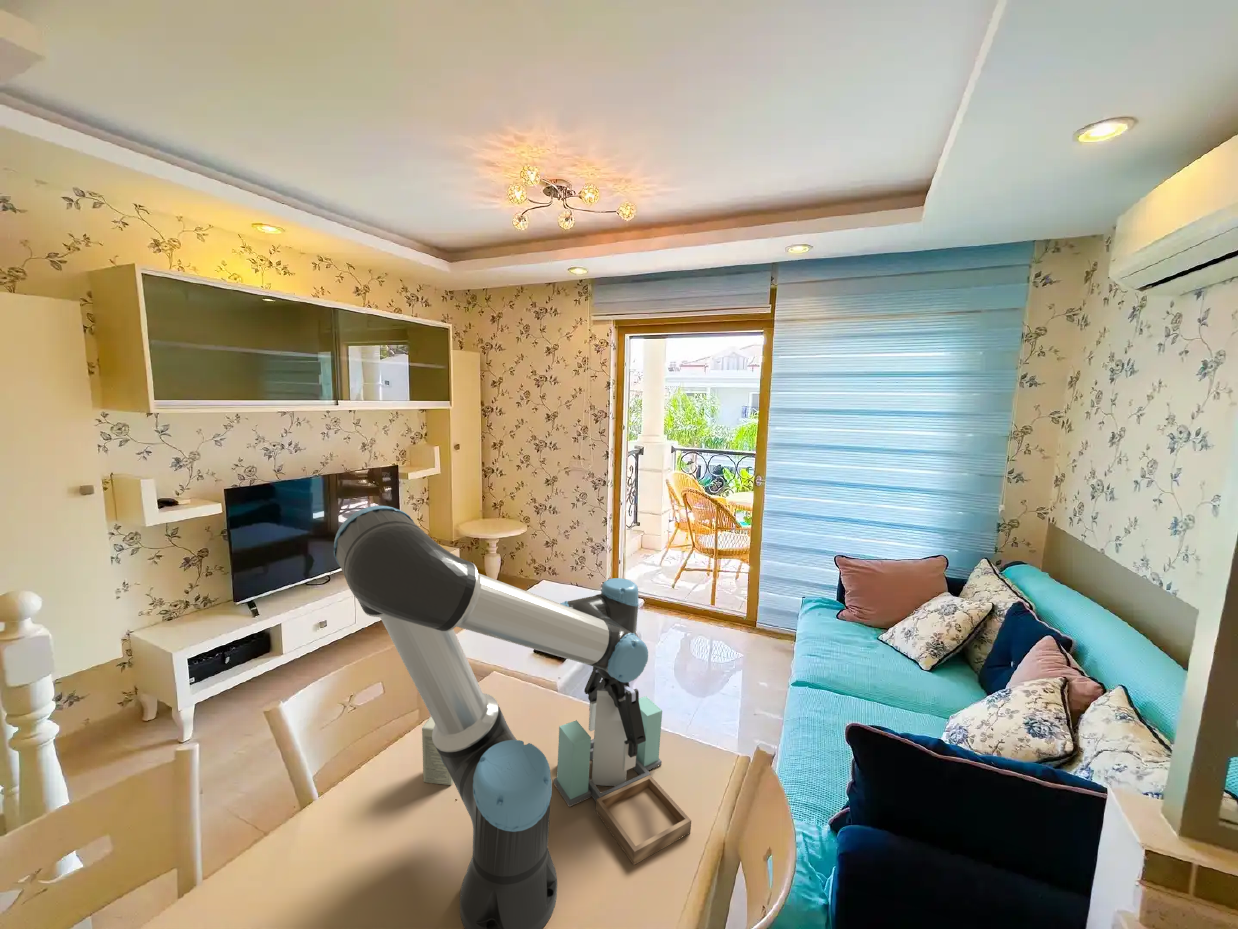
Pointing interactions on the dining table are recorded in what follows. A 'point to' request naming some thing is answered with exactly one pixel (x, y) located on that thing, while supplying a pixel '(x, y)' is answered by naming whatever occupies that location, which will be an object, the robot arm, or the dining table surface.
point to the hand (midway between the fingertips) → (610, 747)
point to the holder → (579, 752)
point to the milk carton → (608, 743)
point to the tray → (642, 818)
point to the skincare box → (433, 758)
